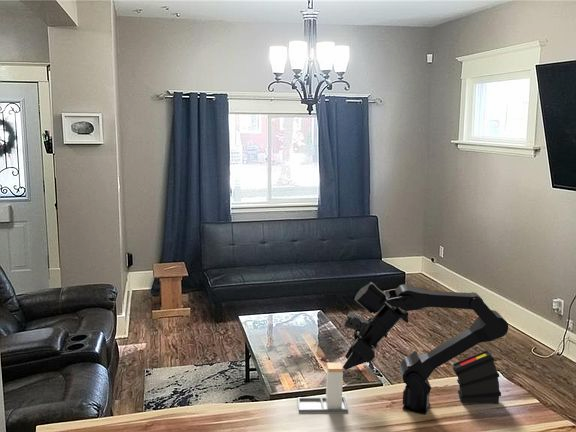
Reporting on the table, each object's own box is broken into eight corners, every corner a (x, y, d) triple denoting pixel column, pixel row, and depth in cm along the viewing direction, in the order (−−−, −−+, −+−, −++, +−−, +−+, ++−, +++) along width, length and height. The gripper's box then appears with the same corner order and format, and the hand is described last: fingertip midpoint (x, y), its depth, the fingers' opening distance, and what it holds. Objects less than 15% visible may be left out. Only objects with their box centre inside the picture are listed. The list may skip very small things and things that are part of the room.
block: (339, 402, 164) (341, 362, 162) (341, 409, 160) (343, 368, 158) (325, 402, 164) (326, 362, 162) (327, 409, 160) (328, 368, 158)
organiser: (344, 402, 166) (344, 397, 166) (347, 414, 159) (348, 409, 159) (297, 402, 165) (297, 397, 165) (298, 414, 159) (298, 409, 158)
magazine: (511, 399, 165) (492, 354, 163) (468, 416, 167) (448, 372, 165) (506, 393, 169) (488, 349, 167) (464, 410, 170) (445, 366, 168)
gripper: (361, 296, 169) (326, 334, 172) (358, 311, 151) (319, 354, 153) (390, 321, 168) (354, 359, 171) (391, 340, 150) (351, 382, 153)
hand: (345, 363), depth 162 cm, fingers open, 9 cm apart
